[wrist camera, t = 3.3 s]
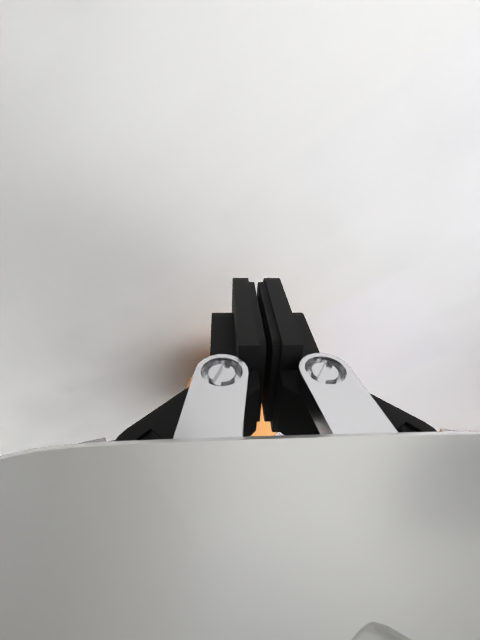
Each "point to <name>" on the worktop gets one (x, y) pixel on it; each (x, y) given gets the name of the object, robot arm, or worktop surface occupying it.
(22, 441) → the worktop surface
